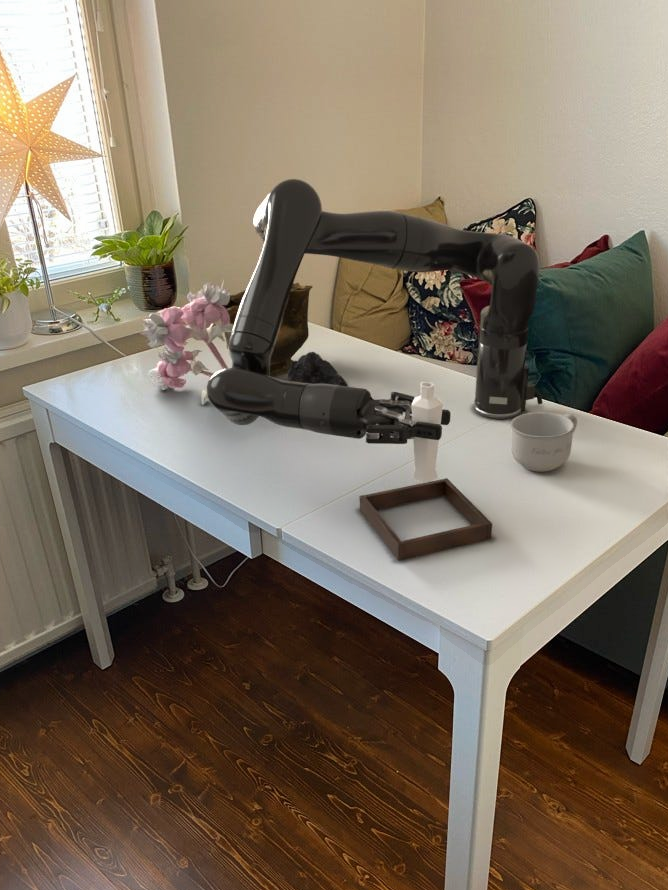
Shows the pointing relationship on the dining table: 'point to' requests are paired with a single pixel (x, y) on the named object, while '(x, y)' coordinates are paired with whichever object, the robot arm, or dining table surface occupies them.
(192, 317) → the flower
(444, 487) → the walnut frame
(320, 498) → the dining table surface
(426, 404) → the perfume bottle
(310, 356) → the crystal cluster
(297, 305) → the pottery vessel
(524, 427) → the teacup
